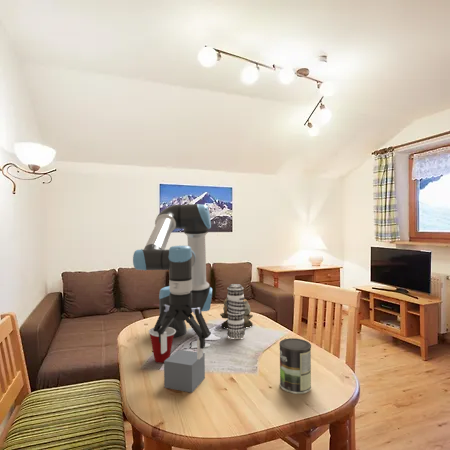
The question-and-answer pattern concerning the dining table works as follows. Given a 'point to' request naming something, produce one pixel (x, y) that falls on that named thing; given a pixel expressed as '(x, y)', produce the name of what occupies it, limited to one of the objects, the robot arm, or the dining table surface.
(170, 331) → the plastic cup
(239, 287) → the decorative candle
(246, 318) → the owl figurine
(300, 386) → the coffee can
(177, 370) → the grey cube
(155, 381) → the dining table surface
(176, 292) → the robot arm
